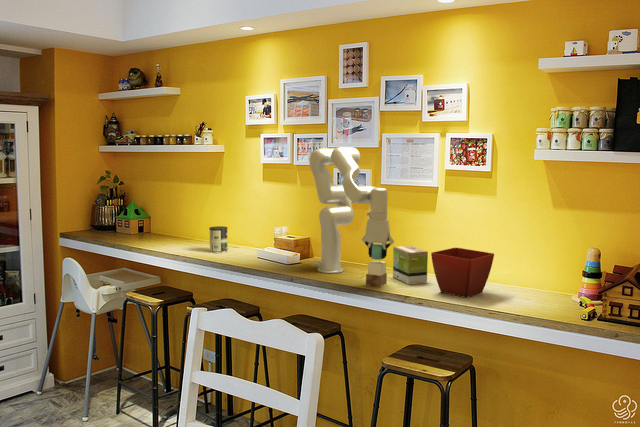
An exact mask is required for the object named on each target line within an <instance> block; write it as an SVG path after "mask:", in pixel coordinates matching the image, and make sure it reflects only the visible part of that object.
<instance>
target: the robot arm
mask: <svg viewBox="0 0 640 427" xmlns="http://www.w3.org/2000/svg"><path fill="white" fill-rule="evenodd" d="M360 160H361V154H360V151H359V150H358V149H357V148H356V147H352V146H351V147H350V146H339V147H338V146H337V147H335V148H331V147H320V148H316V149H314V150H312V152H310V155H309V160H308V162H309V163H308V164H309V167H310V171H311V173H312V175H313V179H314V183H315V184H314V185H315V188H316V189H315V190H316V192H317V196H318V201H319V203H320V204H322V205H328V206H325V207H322V209H321V210H320V211H319V214H318V216H319V217H318V218H319V225H320V260H314V261H313V265H314V266H318V268H317V272H319V273H323V274H338V273H343V272H344V267H341V246H342V245H341V243H342V240H341V239H342V238H341V236H342V235H341V232H340V230H339V228H338V226H345V225H350V224H351V223H353V220H354V210H353V205H352V203H353V204H355V205H357V204H358V205H360V204H362V205H363V204H369V212H367V213H366V217H369V218H368V219H367V221H366V227H365V234H364V236H363V237H361V241H362V242H363V243H364V244H365V245H366V247H367V248H368V253H367V254H368V256H369V258H371V257H372V244H382V246H383V249H382V259H381V260H384V259H386V257H387V256H388V255H387V253H388V248H389V247H390V246H392V245H393V244H394V243H395V241H394V239H393V237H392V236H391V229H390V223H389V219H388V201H389V200H388V199H389V198H388V196H389V195H388V194H389V193H388V188H385V187H377V186H373V185H372V186H366V185H364V186H357V185H356V183H355V182H354V181H353V180H354V179H356V178H357V177H358V176H359V175H360V172H361V168H360V166H359V165H358V164H359V162H360ZM326 166H327V167H331V166H335V167H336V168H337V170H338V171H339V172H340V174H341V176H342V177H343V179H342V184H334V181H333V176H332V174H331V173H330V170H328V168H326ZM335 204H336V205H335ZM329 205H333V206H329Z"/></svg>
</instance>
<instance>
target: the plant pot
mask: <svg viewBox="0 0 640 427" xmlns="http://www.w3.org/2000/svg"><path fill="white" fill-rule="evenodd" d="M430 256H431V263H432V267H433V271H434V276H435V280H436V281H437V282H436V283H437V286H438V289H439V290H440V292H441V293H444V292H446V293H445V294H448V293H450V295H452V294H455V295H454V296H457V295H459V296H458V297H461V296H463V297H462V298H469V296H470V297H472V295H473V296H475V295H478V294H482V292H483V291H484V289H485V286H486V285H487V284H486V283H487V282H488V279H489V276H490V273H491V269H492V266H493V262H494V257H495V253H493V252H489V251H481V250H475V249H468V248H463V247H450V248H447V249H442V250H438V251H437V250H436V251H433V252H431V255H430Z"/></svg>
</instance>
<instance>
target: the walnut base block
mask: <svg viewBox="0 0 640 427" xmlns="http://www.w3.org/2000/svg"><path fill="white" fill-rule="evenodd" d="M387 276H388V273H387V272H386V273H385V274H383V275H381V276H378V275H370V274H368V273H366V274H365V286H368V285H374V286H373V287H376V286H382V285H384V284H385V285H387V284H386V283H387V280H388V279H387V278H388V277H387ZM385 285H384V286H385ZM382 287H383V286H382Z"/></svg>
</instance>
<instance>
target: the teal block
mask: <svg viewBox="0 0 640 427" xmlns="http://www.w3.org/2000/svg"><path fill="white" fill-rule="evenodd" d="M382 249H383V246H382V243H373V244H372V257H370V258H371V259H372V260H375V261H380V260H383V259H382Z"/></svg>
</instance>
